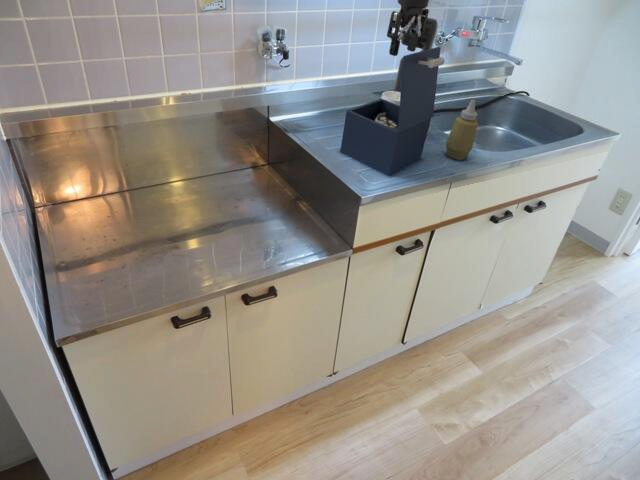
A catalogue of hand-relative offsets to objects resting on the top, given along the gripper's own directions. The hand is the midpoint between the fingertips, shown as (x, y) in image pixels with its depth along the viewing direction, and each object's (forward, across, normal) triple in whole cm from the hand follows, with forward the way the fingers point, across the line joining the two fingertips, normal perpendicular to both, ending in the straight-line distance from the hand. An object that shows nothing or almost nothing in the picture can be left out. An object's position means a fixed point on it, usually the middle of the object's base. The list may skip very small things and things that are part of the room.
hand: (402, 52), depth 124 cm
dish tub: (+30, 0, 0) cm, 30 cm away
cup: (+30, +17, +9) cm, 36 cm away
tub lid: (+7, 0, -7) cm, 10 cm away
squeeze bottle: (+30, +20, -15) cm, 39 cm away
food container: (+29, 0, 0) cm, 29 cm away
